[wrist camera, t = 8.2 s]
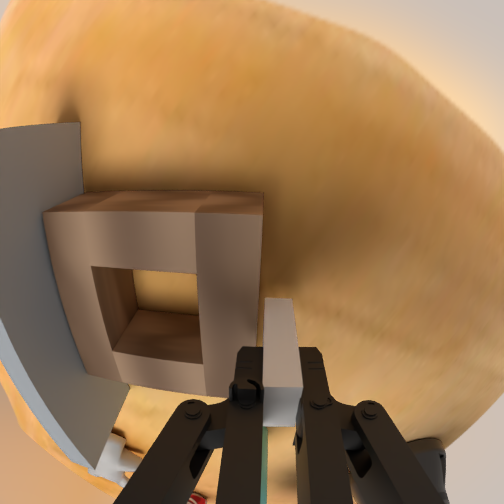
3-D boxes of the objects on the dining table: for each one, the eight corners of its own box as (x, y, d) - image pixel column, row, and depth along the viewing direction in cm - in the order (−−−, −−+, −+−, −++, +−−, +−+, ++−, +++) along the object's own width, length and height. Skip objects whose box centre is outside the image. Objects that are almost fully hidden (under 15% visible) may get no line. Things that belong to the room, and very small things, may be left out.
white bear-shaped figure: (137, 463, 26) (133, 501, 29) (147, 434, 30) (141, 478, 34) (66, 432, 25) (78, 478, 29) (81, 406, 30) (88, 457, 34)
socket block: (263, 192, 17) (262, 215, 13) (255, 350, 22) (252, 399, 17) (86, 192, 18) (42, 212, 13) (112, 334, 22) (87, 374, 18)
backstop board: (80, 122, 16) (-37, 135, 7) (129, 389, 25) (95, 470, 16) (55, 127, 16) (-57, 145, 7) (109, 384, 25) (71, 461, 16)
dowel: (269, 422, 26) (266, 540, 14) (266, 440, 27) (263, 546, 15) (228, 419, 26) (214, 536, 14) (229, 439, 27) (217, 543, 15)
